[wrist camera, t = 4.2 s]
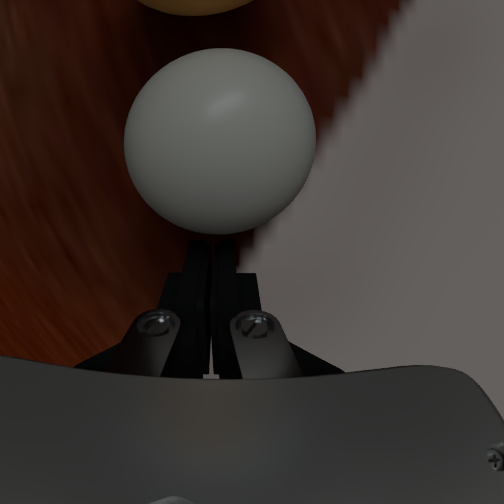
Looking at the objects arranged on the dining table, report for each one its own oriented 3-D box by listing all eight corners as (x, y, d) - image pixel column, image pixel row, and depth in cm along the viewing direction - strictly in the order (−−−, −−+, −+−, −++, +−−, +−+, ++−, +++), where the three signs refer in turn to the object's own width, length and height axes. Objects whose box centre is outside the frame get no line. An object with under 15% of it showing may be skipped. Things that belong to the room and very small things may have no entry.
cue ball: (219, 112, 4) (238, -15, 6) (69, 218, 7) (118, 81, 9) (357, 237, 8) (333, 98, 10) (209, 269, 11) (219, 148, 13)
